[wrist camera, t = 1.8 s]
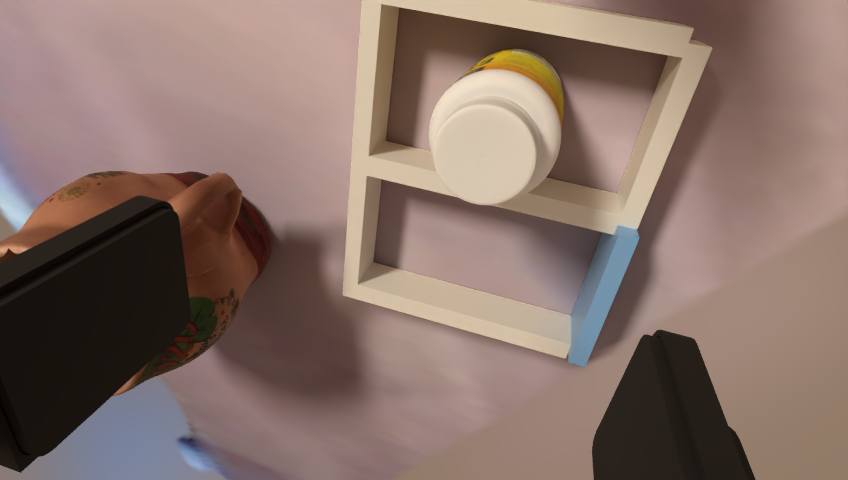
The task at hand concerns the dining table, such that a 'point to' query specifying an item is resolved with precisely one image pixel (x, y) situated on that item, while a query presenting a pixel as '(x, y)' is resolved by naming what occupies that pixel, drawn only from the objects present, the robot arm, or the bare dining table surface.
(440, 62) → the dining table surface
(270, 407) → the dining table surface
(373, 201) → the white divided tray
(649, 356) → the robot arm
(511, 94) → the supplement bottle
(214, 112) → the dining table surface
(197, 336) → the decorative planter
